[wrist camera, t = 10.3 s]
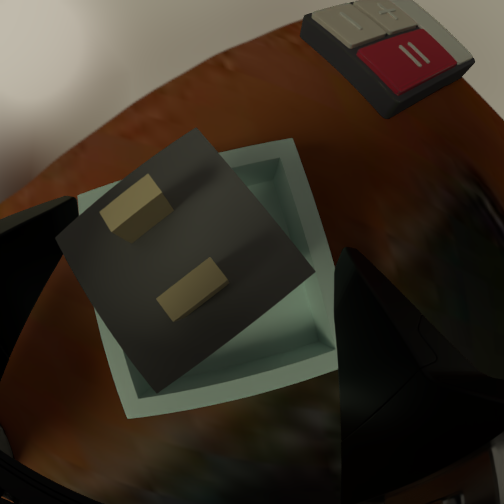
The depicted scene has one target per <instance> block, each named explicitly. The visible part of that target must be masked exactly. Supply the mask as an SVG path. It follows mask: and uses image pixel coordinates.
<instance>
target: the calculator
mask: <svg viewBox="0 0 504 504" xmlns="http://www.w3.org/2000/svg"><path fill="white" fill-rule="evenodd" d="M300 37H301V38H302V39H303V40H304V41H305V42H307V43H308V44H309V45H310V46H311V47H312V48H314V49H315V50H316V51H317V52H318V53H319V54H320V55H321V56H323V57H324V58H325V59H326V60H327V61H328V62H329V63H330V64H331V65H332V66H334V67H335V68H336V69H337V70H338V71H339V72H340V73H341V74H342V75H343V76H344V77H345V78H346V79H347V80H348V81H349V82H350V83H351V84H352V85H353V86H354V87H355V88H356V89H357V90H358V91H359V92H360V93H361V94H362V95H363V96H364V97H365V99H366V100H367V101H368V102H369V103H370V104H371V105H372V106H373V107H374V108H375V109H376V110H377V112H378V113H379V114H380V115H381V116H382V117H383V118H385V119H389V118H391V117H393V116H394V115H396V114H398V113H399V112H401V111H403V110H405V109H406V108H408V107H410V106H411V105H413V104H415V103H417V102H418V101H420V100H422V99H423V98H425V97H427V96H428V95H430V94H432V93H433V92H435V91H437V90H439V89H440V88H442V87H444V86H447V85H449V84H451V83H453V82H454V81H456V80H458V79H460V78H461V77H462V76H463V75H464V74H465V73H466V72H467V71H468V69H469V68H470V67H471V66H472V65H473V64H474V63H475V60H474V58H473V56H472V55H471V54H470V52H469V51H468V50H467V49H466V48H465V47H464V46H463V45H462V44H461V43H460V42H459V41H458V40H457V39H456V38H455V37H454V36H453V35H452V34H451V33H450V32H449V31H448V30H447V29H445V28H444V27H443V26H442V25H441V24H440V23H439V22H438V21H437V20H435V19H434V18H433V17H432V16H431V15H430V14H429V13H428V12H426V11H425V10H424V9H423V8H422V7H420V6H419V5H418V4H417V3H415V2H414V1H413V0H359V1H355V2H351V3H345V4H341V5H337V6H333V7H330V8H326V9H322V10H319V11H315V12H313V13H310V14H307V15H305V16H304V18H303V23H302V28H301V33H300Z"/></svg>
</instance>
